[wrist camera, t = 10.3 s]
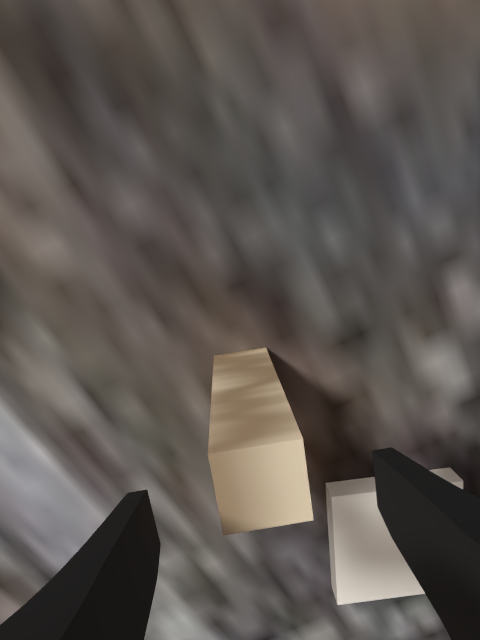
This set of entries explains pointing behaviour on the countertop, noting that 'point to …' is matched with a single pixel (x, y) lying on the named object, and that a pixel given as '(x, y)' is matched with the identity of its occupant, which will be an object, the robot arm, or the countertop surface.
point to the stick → (255, 446)
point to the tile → (367, 544)
